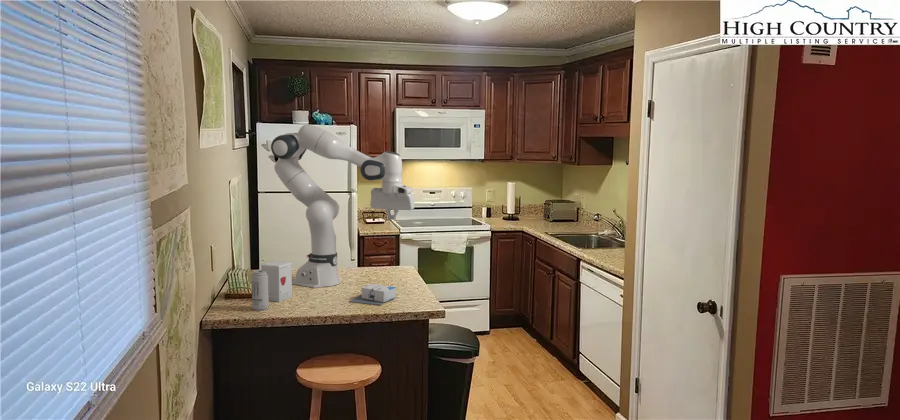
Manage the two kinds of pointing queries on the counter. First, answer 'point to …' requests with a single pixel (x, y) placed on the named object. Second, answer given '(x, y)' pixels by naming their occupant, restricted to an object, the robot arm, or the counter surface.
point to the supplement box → (278, 280)
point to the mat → (365, 301)
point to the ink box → (378, 292)
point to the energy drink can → (260, 290)
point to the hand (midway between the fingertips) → (392, 219)
